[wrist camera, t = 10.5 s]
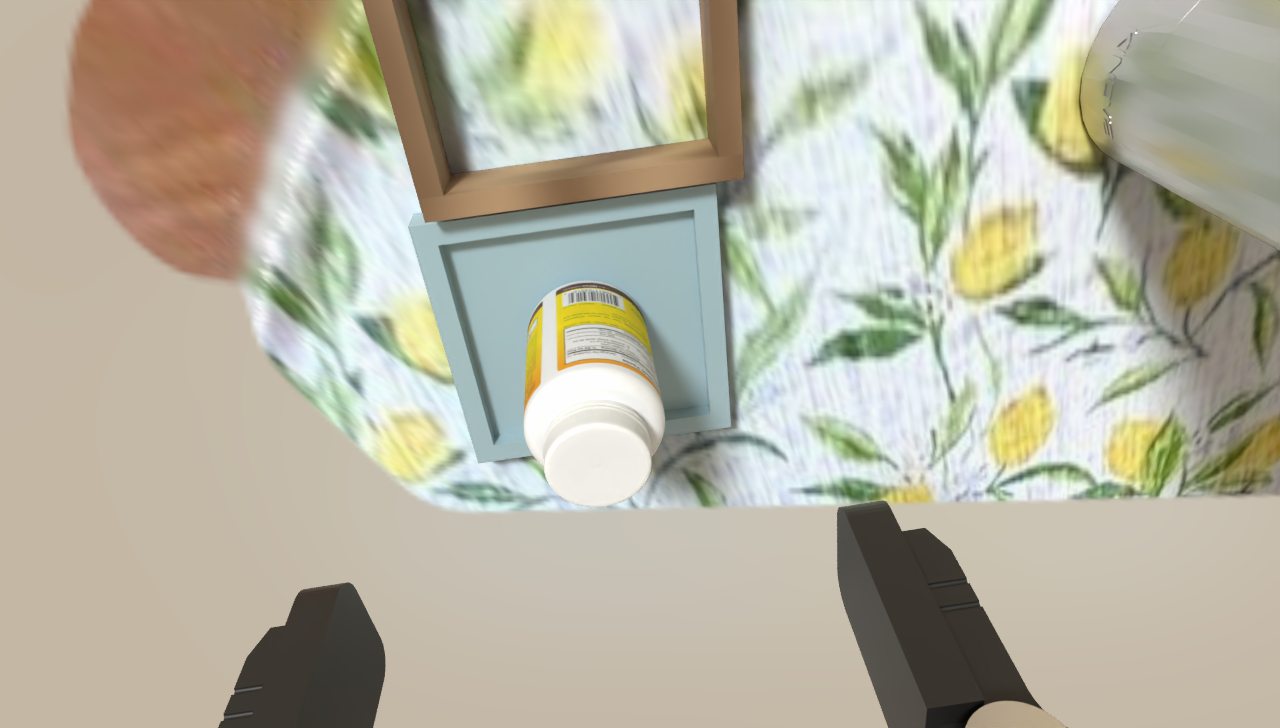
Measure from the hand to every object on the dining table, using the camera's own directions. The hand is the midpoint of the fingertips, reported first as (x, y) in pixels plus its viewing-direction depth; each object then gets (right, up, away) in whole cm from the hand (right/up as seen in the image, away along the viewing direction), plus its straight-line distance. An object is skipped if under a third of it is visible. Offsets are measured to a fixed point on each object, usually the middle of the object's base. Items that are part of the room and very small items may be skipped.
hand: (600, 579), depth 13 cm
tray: (-2, +6, +25) cm, 25 cm away
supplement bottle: (-2, +5, +24) cm, 25 cm away
